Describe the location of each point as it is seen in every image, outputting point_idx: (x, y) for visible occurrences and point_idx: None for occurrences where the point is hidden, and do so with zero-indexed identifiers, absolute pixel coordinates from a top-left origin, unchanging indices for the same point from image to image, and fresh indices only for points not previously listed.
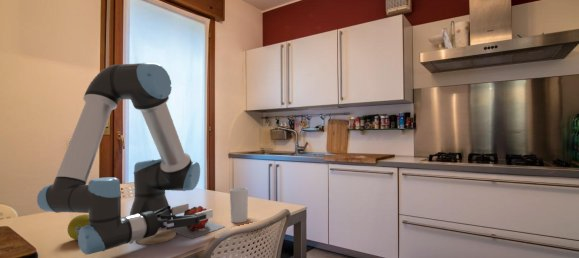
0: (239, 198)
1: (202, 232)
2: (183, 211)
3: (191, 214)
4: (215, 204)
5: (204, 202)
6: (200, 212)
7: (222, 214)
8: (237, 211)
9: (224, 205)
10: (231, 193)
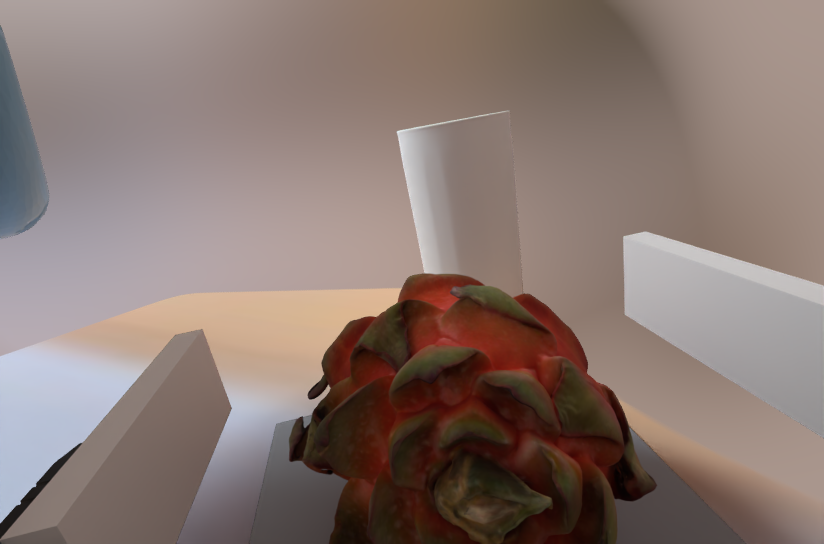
0: (510, 162)
1: (639, 502)
2: (205, 445)
3: (561, 397)
4: (134, 325)
5: (39, 347)
6: (791, 281)
7: (305, 330)
8: (510, 247)
9: (196, 308)
10: (461, 140)
